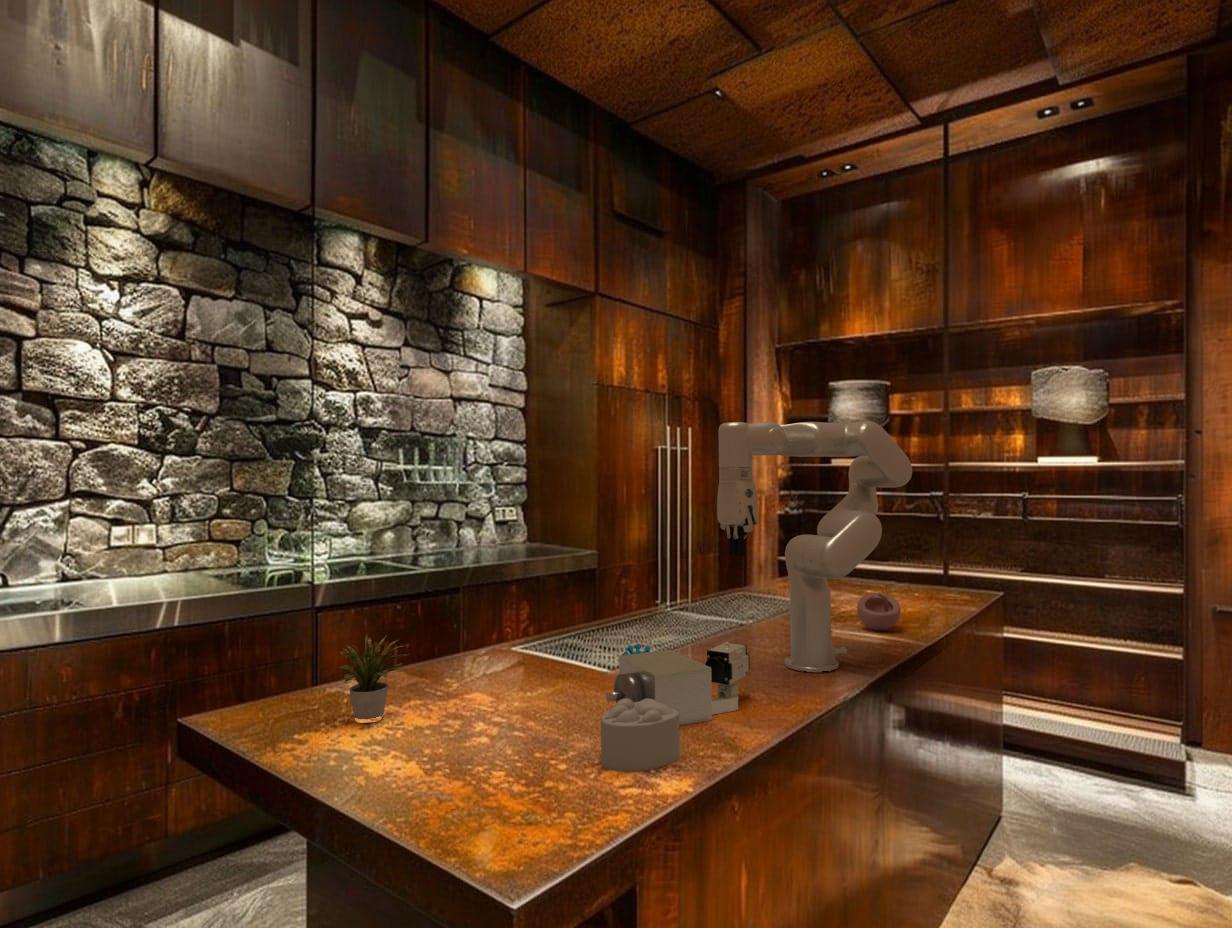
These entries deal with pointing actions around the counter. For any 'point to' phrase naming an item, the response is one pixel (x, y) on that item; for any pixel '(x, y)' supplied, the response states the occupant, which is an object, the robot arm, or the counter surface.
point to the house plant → (369, 679)
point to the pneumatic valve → (728, 667)
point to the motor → (670, 685)
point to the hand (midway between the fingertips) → (736, 555)
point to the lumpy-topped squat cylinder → (639, 736)
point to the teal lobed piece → (638, 646)
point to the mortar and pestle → (878, 611)
